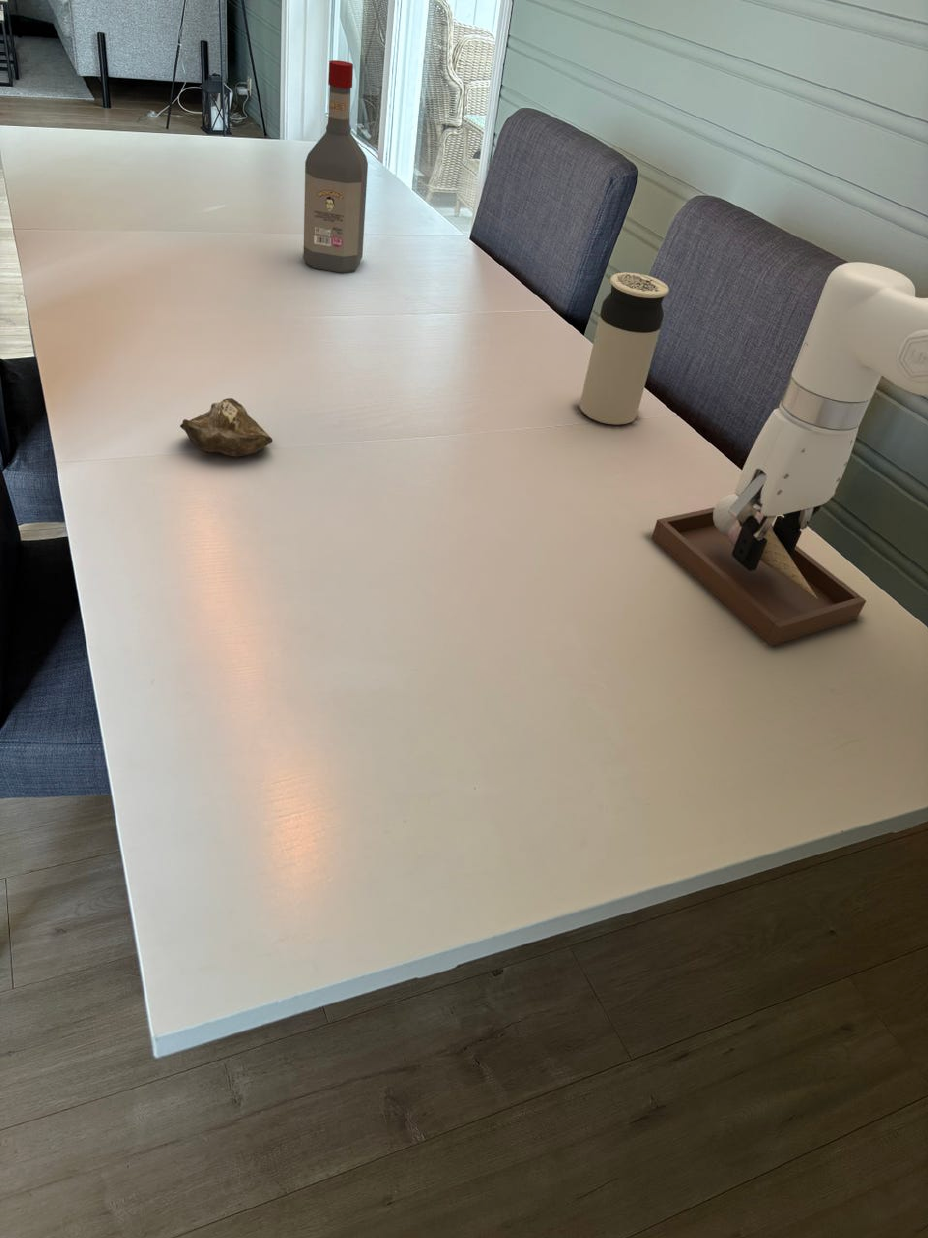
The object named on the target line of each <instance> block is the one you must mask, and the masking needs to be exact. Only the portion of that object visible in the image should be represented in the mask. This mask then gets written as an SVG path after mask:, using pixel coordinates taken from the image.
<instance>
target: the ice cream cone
mask: <svg viewBox="0 0 928 1238" xmlns="http://www.w3.org/2000/svg"><path fill="white" fill-rule="evenodd" d="M738 498H739V497H738V496H737V495H736V494H735V493H731V494H728V495H725V496H723V497H722V498H721V499H720V500H719V501H718V502H716V505H715V506H714V507H715V508H714V511H713V521H714V524H715V526H716V528H717V529H718V530H719V531H720V532H721V533H722V534H723V535H726V536H728V538H729V541H730V542H731V543H732V545H733V546H735V544H736V541H737V539H738V536H739V533H740V531H741V528H742V527H740V526H739V522H738V520H737V519H736V518H735V517H733V516H732V515H731V514H730V513H729V512H728V510H729V508H730V507H731V506H732V505H733V503H734V502H735V501H736V500H737V499H738ZM763 517H764V516H763V515H762V514H761V513H759V512H757V514H756V515H755V518H756V519H757V521H758V522H759V524H760V522H761V520H762V518H763ZM764 538H765V539H767V543H766V546H765V548H764V551H763V553H762V555H761V558H760V560H761V561H763V562H764V563H765V564H767V565H768V566H770V567H771V568H773V569H774V570H776V571H777V572H779V573H780V574H782V575H783V576H785V577H786V578H788V579H789V580H790V581H792V582H793V583H795V584H796V585H798V586H799V587H801V588H802V589H804V590H805V591H807V592H808V593H810V594H811V595H813V596H814V597H816V596H815V594H814V592H813V591H812V589H811V588H810V586H809V585H808V583H807V582H806V580H805V579H804V577H803V576H802V574H801V573H800V571H799V570H798V568H797V567H796V565H795V563H794V562H793V560H792V559H791V557H790V556H789V554H788V553H787V551H786V550H785V548H784V547H783V545H782V544H781V542H780V541H779V539H778V537H777V536H776V534H775V533H774V531H773V524H772V525H771V526H770V528H769V530H768V532H767V533H766V535H765V537H764ZM816 598H817V597H816Z"/></svg>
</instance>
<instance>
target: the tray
mask: <svg viewBox="0 0 928 1238" xmlns="http://www.w3.org/2000/svg"><path fill="white" fill-rule="evenodd" d="M714 508H715V506H713V507H709V508H704V509H700V510H696V511H689V512H687V513H681V514H676V515H672V516H667V517H663V518H659V519H656V523H655V526H654V529H653V532H652V535H651V539H652V540H653V541H654V542H655V543H656V544H658V545H659V546H660V547H661V548H662V549H663V550H664V551H665V552H666V553H668V555H670V556H671V557H672V558H673V559H674V560H675V561H677V562H678V564H680V565H681V566H682V567H683V568H684V569H685V570H686V571H688V573H690V574H691V575H692V576H693V577H694V578H695V579H696V580H697V581H698V582H700V583H701V585H703V586H704V587H705V588H706V589H707V590H708V591H709V592H711V593H712V594H713V595H714V596H715V597H716V598H717V599H718V600H720V602H721V603H722V604H724V605H725V606H726V607H727V608H728V609H729V610H730V611H731V612H732V613H733V614H734V615H736V616H737V617H738V618H739V619H740V620H741V621H742V622H743V623H745V624H746V625H747V626H748V627H749V628H750V629H751V630H752V631H753V632H755V633H756V634H757V635H758V636H759V637H760V639H762V640H763V641H765V642H766V643H767V645H769V646H770V647H773V646H777V645H779V644H783V643H786V642H789V641H792V640H795V639H798V638H801V637H804V636H808V635H811V634H814V633H817V632H821V631H824V630H826V629H827V630H828V629H829V628H832V627H836V626H839V625H843V624H845V623H848V622H849V623H850V622H851V621H855V620H857V619H858V618H859V616H860V614H861V612H862V610H863V608H864V607H865V605H866V602H867V600H866V599H865V598H864V597H863V596H861V595H860V594H859V593H858V592H857V591H855V590H853V589H852V588H851V587H850V586H848V585H847V584H846V583H845V582H844V581H842V580H841V579H840V578H839V577H837V576H836V575H835V574H834V573H832V572H831V571H830V570H828V569H827V568H826V567H824V566H823V565H822V564H821V563H819V562H818V561H816V560H815V559H814V558H813V557H812V556H810V555H809V554H808V553H807V552H806V551H804V550H803V549H801V547H799V546H798V545H796V547H795V549H794V551H793V554H792V556H791V559H792V560H793V562H794V563H795V565H796V567H797V568H798V570H799V571H800V573H801V574H802V576H803V577H804V579H805V580H806V582H807V583H808V585H809V586H810V588H811V589H812V591H813V592H814V594H815V596H816V597H817V598H816V597H814V596H813V595H811V594H810V593H808V592H807V591H805V590H804V589H802V588H801V587H799V586H798V585H796V584H795V583H793V582H792V581H790V580H789V579H788V578H786V577H785V576H783V575H782V574H780V573H779V572H777V571H776V570H774V569H773V568H771V567H770V566H768V565H767V564H765V563H764V562H763V561H761V560H759V563H758V565H757V568H756V569H755V570H753V571H749V570H748V569H746V568H745V567H744V566H743V565H742V564H741V563H739V562H738V561H737V560H736V559H735V558H733V556H732V552H733V549H734V546H733V545H732V543H731V542H730V541H729V538H728V536H726V535H723V534H722V533H721V532H720V531H719V530H718V529H717V528H716V526H715V524H714V521H713V511H714Z"/></svg>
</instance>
